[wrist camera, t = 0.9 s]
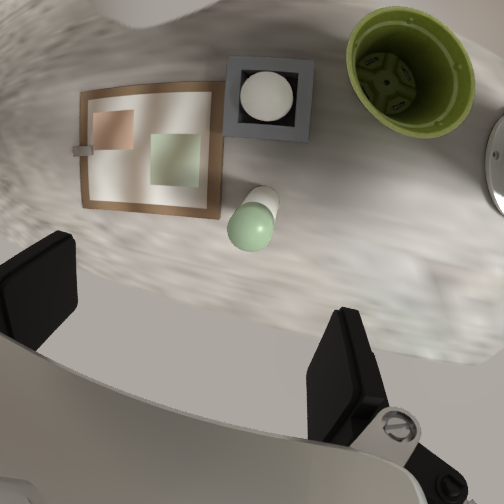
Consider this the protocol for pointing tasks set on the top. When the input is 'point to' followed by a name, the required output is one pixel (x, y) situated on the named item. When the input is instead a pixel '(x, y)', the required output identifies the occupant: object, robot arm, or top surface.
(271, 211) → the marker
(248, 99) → the button cap
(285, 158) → the top surface
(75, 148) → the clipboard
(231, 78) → the button box
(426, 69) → the plant pot
